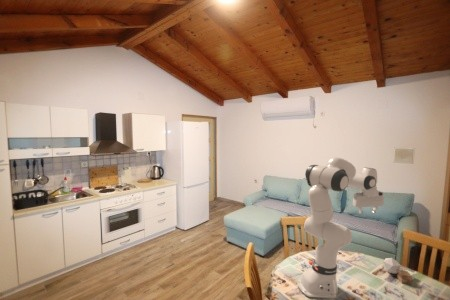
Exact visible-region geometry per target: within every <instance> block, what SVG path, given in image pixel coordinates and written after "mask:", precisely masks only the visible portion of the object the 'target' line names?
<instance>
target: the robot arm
mask: <svg viewBox="0 0 450 300" xmlns="http://www.w3.org/2000/svg"><path fill="white" fill-rule="evenodd" d="M304 175H305V180H306V183H307V185H308V187H310V188H309V189H308V195H307V196H308V204H309V208H310V212H311V216H309V217H307V218H305V221H304V225H303V227H304V230H305V232H306V233H308V235H311V236H312V237H315V238H318V239H321V240H323V241H325V243H321V244H319V245H317V246H316V248H315V253H314V254H315V255H314V257H315V258H314V261H312V260H309V261H308V264H309V265H310V266H311V267H309V268H307V270H305V271H304V272H302V274H301V277H300V278H297V279H296V284H297V287H298V288H299V290H300V291H301V293H302V294H304V295H305V296H306V297H308V298H320V299H321V298H324V299H325V298H326V299H336V298H337V294H338V292H339V287H338V283H337V281H338V280H337V272H338V265H337V258H338V253H339V251H340V250H341V249H342V248H343V247H347V246H348V245H350V244H351V242H352V239H353V234H352V233H353V232H352V231H351V229H350V228H349V227H347V226H344V225H343V224H341V223H337V222H333V221H331V220H333V218H334V208H333V205H332V199H331V197H330V194H329V190H330V191H334V192H343V191H345V190H346V189H347V188H354V189H359V190H360V192H356V193H354V194H353V198H352V204H351V205H352V206H353V207H354V208H357V210H358V213H359V214H364V211H363V210H362V209H363V208H367V207H368V208H370V207H373V208H372V209H371V213H373V214H374V213H375V214H376V212H377V210H378V209H379V208H378V207H383V206H384V205H385V203H384V202H385V201H384V200H385V199H384V195H385V193H384V192H383V191H380V190H377V189H378V188H377V183H378V171H377V169H376V168H372V167H363V168H362V170H361V173H359V172H357V169H356V167H355V166H354V164H352V163H351V162H350V161H348V160H346V159H344V158H341V157H331V158H330V159H329V160H327V162H326V166H323V165H318V164H311V165H309V166H308V167H307V168H306V170H305V174H304Z"/></svg>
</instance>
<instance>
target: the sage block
mask: <svg viewBox="0 0 450 300" xmlns="http://www.w3.org/2000/svg"><path fill="white" fill-rule="evenodd" d="M404 271H408V273H409V274H410V275H411V276H412V281H413V280H414V279H415V272H413V271H411V270H408V269H405V270H404Z"/></svg>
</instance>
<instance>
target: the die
mask: <svg viewBox="0 0 450 300" xmlns="http://www.w3.org/2000/svg"><path fill="white" fill-rule="evenodd" d="M401 266H402V265H401V264H400V263H399V262H398V261H397V260H396V259H394V258H393V257H387V258H386V257H385V259H384V260H383V263H382V267H383V268H384V270H385V271H386V272H388V273H390V274H396V275H397V271H398V270H400V269H401Z"/></svg>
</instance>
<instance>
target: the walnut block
mask: <svg viewBox="0 0 450 300" xmlns="http://www.w3.org/2000/svg"><path fill="white" fill-rule="evenodd" d="M408 271H409V270H408ZM408 271H405V270H402V269H401V270H398V271H397V274H396V275H397V276H396V278H397V280H398V281H399V282H400V283H401V284H404V285H412V284H413V280H412V276H411V275H410V274H409V273H408Z"/></svg>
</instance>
